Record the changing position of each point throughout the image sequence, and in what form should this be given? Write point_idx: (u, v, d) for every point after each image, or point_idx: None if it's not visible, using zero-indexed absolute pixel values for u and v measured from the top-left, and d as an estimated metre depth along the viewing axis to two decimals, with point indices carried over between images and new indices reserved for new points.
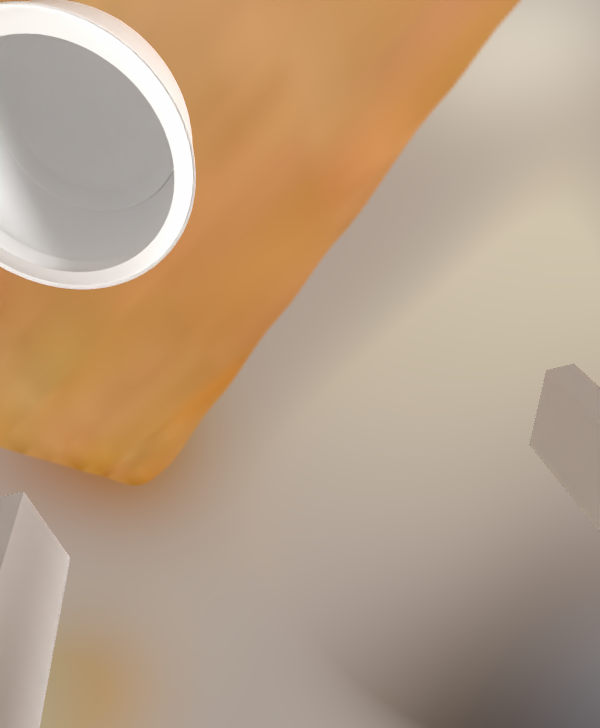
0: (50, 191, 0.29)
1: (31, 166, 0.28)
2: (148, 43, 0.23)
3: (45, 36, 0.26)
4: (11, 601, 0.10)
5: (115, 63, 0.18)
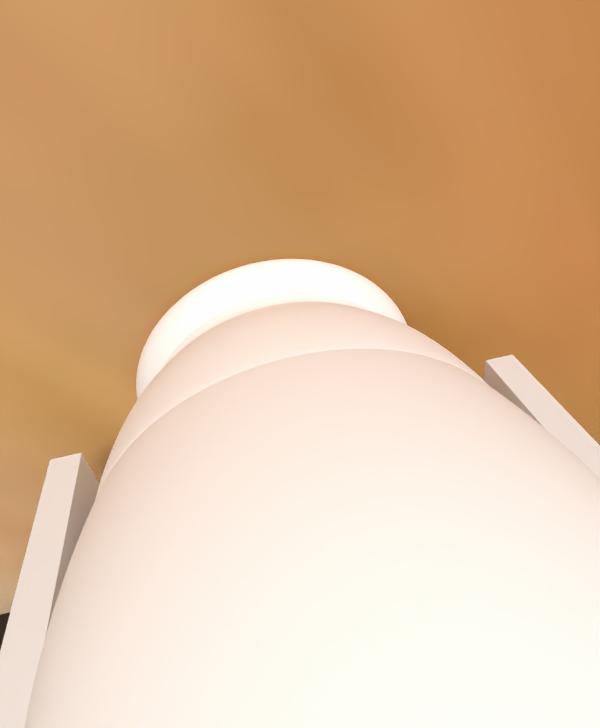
0: None
1: None
2: (101, 578, 0.06)
3: None
4: None
5: None
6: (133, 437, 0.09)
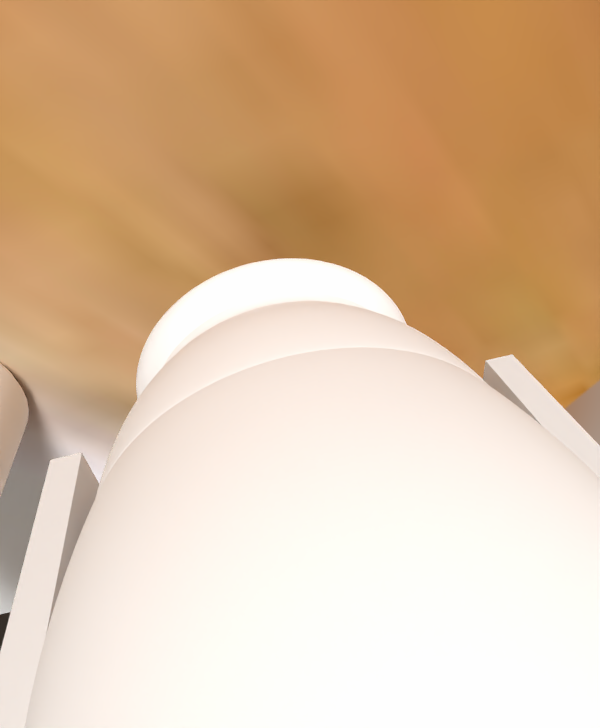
0: None
1: None
2: (101, 575, 0.06)
3: None
4: None
5: None
6: (134, 435, 0.09)
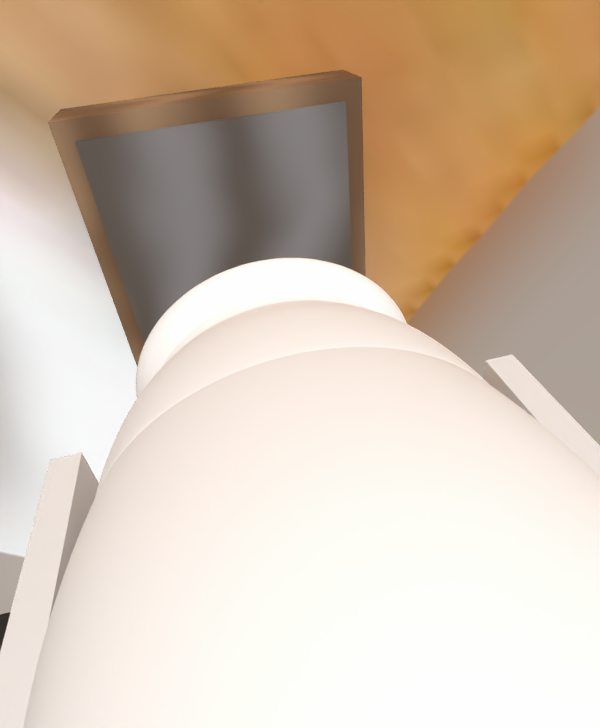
0: None
1: None
2: (100, 576, 0.06)
3: None
4: None
5: None
6: (133, 435, 0.09)
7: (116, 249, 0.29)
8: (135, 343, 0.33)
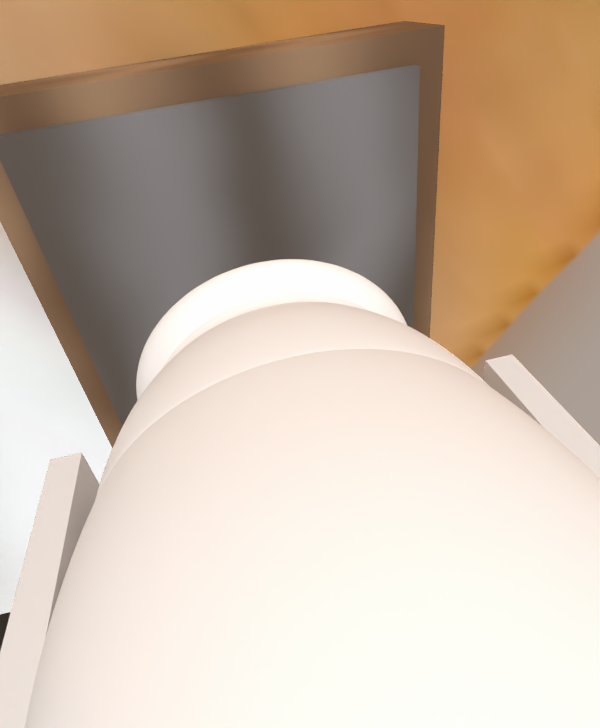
0: None
1: None
2: (101, 578, 0.06)
3: None
4: None
5: None
6: (133, 437, 0.09)
7: (71, 298, 0.19)
8: (109, 421, 0.23)
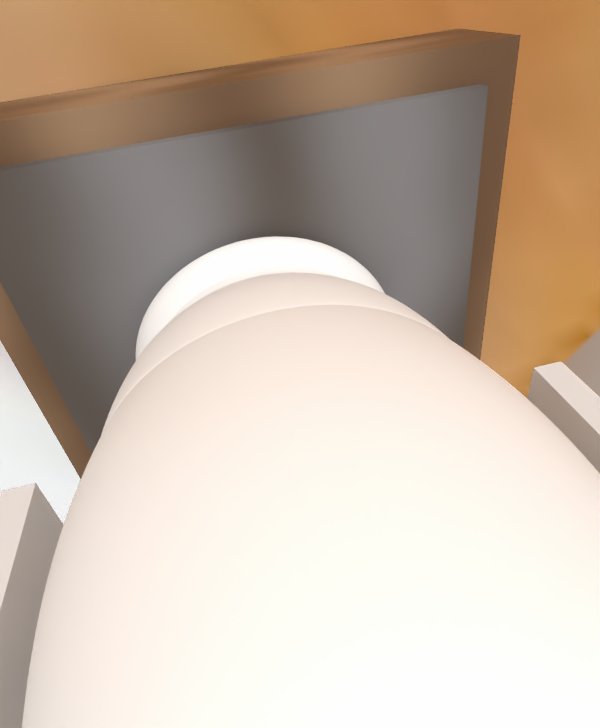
0: None
1: None
2: (104, 485, 0.07)
3: None
4: (25, 590, 0.10)
5: None
6: (133, 384, 0.10)
7: (53, 365, 0.16)
8: None
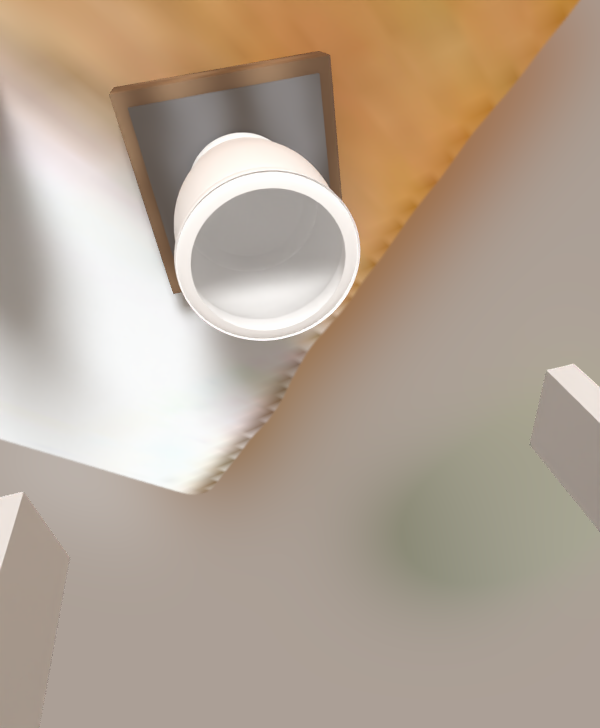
0: (299, 246, 0.38)
1: (282, 254, 0.39)
2: (192, 170, 0.31)
3: None
4: (11, 601, 0.10)
5: (202, 222, 0.26)
6: (194, 165, 0.34)
7: (155, 189, 0.39)
8: (169, 266, 0.43)
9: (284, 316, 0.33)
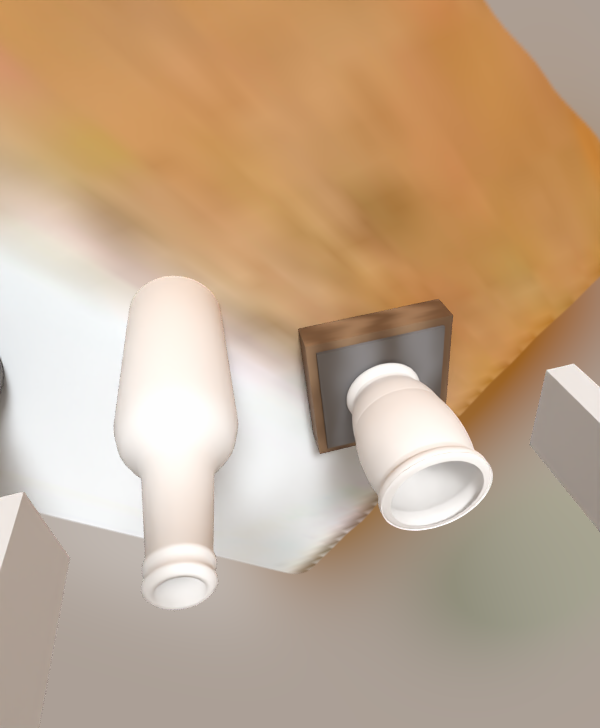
0: None
1: None
2: (378, 421, 0.47)
3: None
4: (11, 601, 0.10)
5: (404, 479, 0.43)
6: (369, 404, 0.50)
7: (323, 396, 0.56)
8: (321, 437, 0.60)
9: (432, 509, 0.49)
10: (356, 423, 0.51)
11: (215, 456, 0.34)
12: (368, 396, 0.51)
